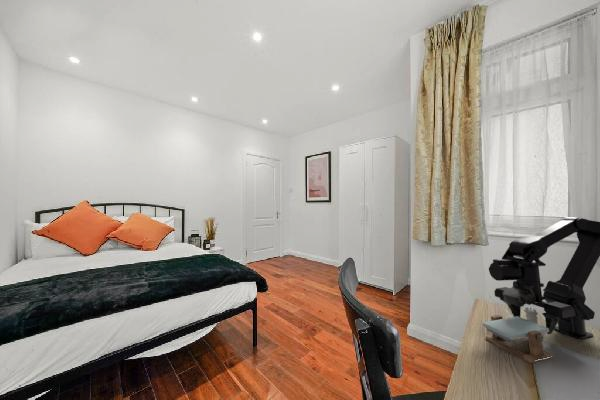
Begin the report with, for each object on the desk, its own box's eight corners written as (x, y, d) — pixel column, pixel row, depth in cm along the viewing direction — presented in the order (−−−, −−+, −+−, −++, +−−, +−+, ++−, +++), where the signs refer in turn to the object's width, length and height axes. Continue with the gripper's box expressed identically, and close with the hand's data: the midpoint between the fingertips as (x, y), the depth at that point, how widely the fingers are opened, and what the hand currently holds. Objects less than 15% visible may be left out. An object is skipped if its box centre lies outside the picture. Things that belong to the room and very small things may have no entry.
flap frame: (504, 334, 74) (502, 312, 74) (553, 358, 62) (550, 332, 62) (484, 338, 72) (482, 316, 73) (531, 363, 60) (528, 336, 60)
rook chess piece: (547, 338, 71) (544, 312, 71) (530, 337, 72) (528, 311, 72) (535, 330, 75) (533, 306, 76) (520, 329, 76) (517, 305, 77)
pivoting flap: (517, 322, 73) (517, 316, 73) (549, 335, 65) (548, 328, 65) (482, 329, 70) (482, 322, 70) (511, 343, 62) (511, 336, 62)
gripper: (480, 274, 82) (484, 318, 81) (545, 291, 64) (551, 348, 63) (504, 271, 84) (508, 313, 83) (573, 286, 66) (579, 341, 65)
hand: (532, 327), depth 74 cm, fingers open, 8 cm apart
